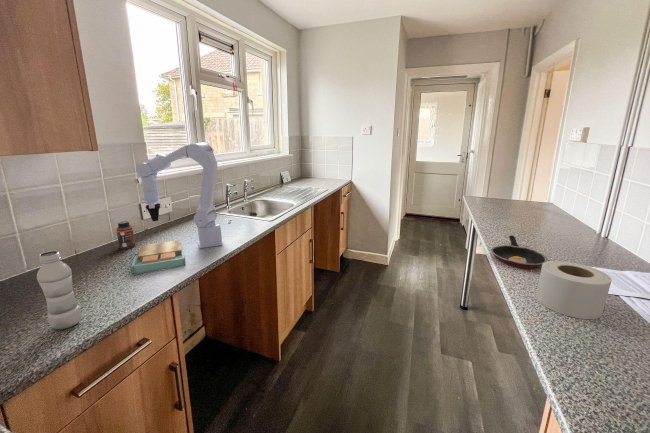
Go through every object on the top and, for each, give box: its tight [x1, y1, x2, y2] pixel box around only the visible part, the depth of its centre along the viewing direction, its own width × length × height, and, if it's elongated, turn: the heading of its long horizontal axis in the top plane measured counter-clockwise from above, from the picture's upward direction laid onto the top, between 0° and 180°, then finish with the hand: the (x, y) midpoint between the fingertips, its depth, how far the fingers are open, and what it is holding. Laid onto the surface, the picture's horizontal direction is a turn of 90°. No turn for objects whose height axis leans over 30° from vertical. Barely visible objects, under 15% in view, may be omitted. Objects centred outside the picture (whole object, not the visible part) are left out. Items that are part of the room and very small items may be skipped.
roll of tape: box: [535, 260, 612, 320], centre depth 87 cm, size 16×15×11 cm
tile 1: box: [142, 255, 159, 264], centre depth 114 cm, size 5×5×2 cm
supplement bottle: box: [116, 220, 136, 250], centre depth 130 cm, size 6×6×11 cm
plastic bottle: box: [36, 250, 82, 330], centre depth 76 cm, size 6×7×20 cm
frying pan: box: [490, 234, 549, 270], centre depth 124 cm, size 19×32×4 cm, turn 155°
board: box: [137, 239, 182, 262], centre depth 125 cm, size 15×13×2 cm
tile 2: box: [160, 252, 176, 261], centre depth 117 cm, size 5×5×2 cm
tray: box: [131, 248, 186, 275], centre depth 114 cm, size 17×10×3 cm, turn 116°
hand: (155, 220), depth 134 cm, fingers closed
